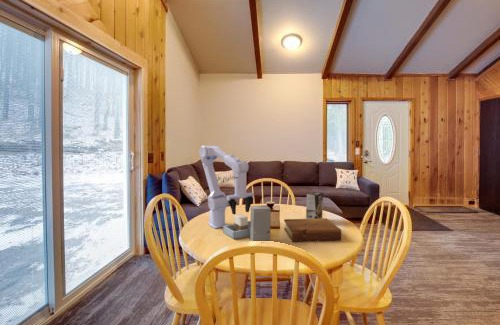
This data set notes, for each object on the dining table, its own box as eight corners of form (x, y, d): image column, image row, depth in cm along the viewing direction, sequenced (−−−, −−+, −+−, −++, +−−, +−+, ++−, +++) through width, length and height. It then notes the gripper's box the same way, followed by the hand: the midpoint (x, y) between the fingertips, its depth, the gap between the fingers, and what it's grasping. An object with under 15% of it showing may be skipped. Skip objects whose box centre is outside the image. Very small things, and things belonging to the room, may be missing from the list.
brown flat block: (292, 243, 127) (292, 231, 126) (284, 230, 146) (284, 219, 145) (341, 241, 129) (341, 229, 128) (326, 228, 147) (327, 217, 147)
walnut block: (234, 231, 140) (234, 223, 140) (241, 230, 142) (241, 221, 142) (240, 235, 135) (240, 226, 135) (247, 233, 137) (247, 224, 137)
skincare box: (253, 243, 125) (253, 209, 124) (249, 238, 132) (249, 205, 131) (271, 242, 127) (271, 208, 126) (266, 236, 134) (266, 204, 133)
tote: (223, 232, 140) (223, 226, 139) (253, 226, 149) (253, 220, 149) (233, 239, 130) (233, 232, 130) (265, 232, 140) (265, 225, 140)
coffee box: (316, 224, 154) (316, 195, 152) (305, 221, 158) (306, 193, 156) (322, 220, 161) (323, 192, 159) (312, 218, 165) (312, 191, 163)
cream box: (234, 222, 140) (234, 215, 139) (241, 221, 142) (241, 213, 141) (240, 226, 135) (240, 218, 134) (247, 224, 137) (247, 216, 136)
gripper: (231, 188, 129) (231, 217, 131) (257, 185, 137) (257, 212, 138) (224, 186, 135) (224, 213, 137) (249, 183, 143) (249, 209, 144)
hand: (240, 212), depth 138 cm, fingers open, 7 cm apart
